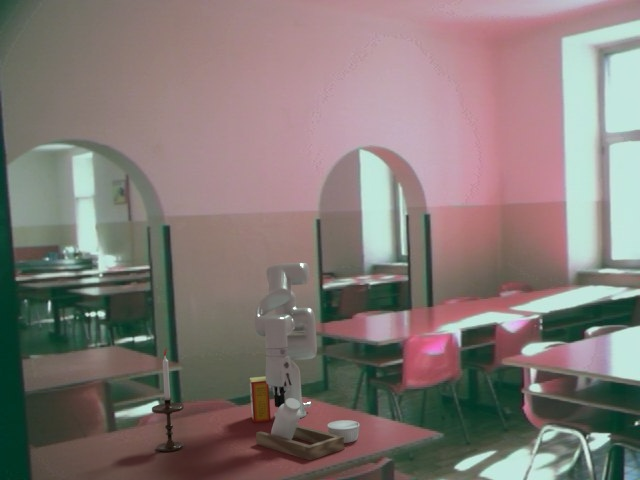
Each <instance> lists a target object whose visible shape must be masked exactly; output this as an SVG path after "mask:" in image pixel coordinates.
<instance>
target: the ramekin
mask: <svg viewBox="0 0 640 480" xmlns="http://www.w3.org/2000/svg"><path fill="white" fill-rule="evenodd" d="M360 426H361V425H360V423H359V422H358V421H355V420H348V419H347V420H346V419H345V420H343V419H341V420H335V421H331V422H329V423H327V427H326V428H327V430H328V433H331V434H335V435H339V436H343V437H344V444H349V443H354V442H355V441H357V440H358V438H359V433H360Z"/></svg>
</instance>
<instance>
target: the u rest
mask: <svg viewBox="0 0 640 480" xmlns="http://www.w3.org/2000/svg"><path fill="white" fill-rule="evenodd" d="M255 437H256V445H259V446H261V447H265V448H268V449H271V450H273V451H278V452H281V453H284V454H287V455H291V456H295V457H296V458H300V459H303V460H307V461H313V460H316V459H319V458H323V457H325V456H328V455H331V454H333V453H336V452H339V451H343V450H345V443H344V437H343V436H339V435H335V434H331V433H329V432H326V431H323V430H319V429H314V428H311V427H306V426H303V425H299V424H298V425H297V428H296V430H295V433H294V436H293V438H292V440H290V439H286V438H283V437H279V436H275V435H272V434H271V433H267V432H264V431H258V432H255ZM293 439H297V440H300V441H305V442H309V443H312V444H307V443H304V442H300V441H296V440H293Z"/></svg>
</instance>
